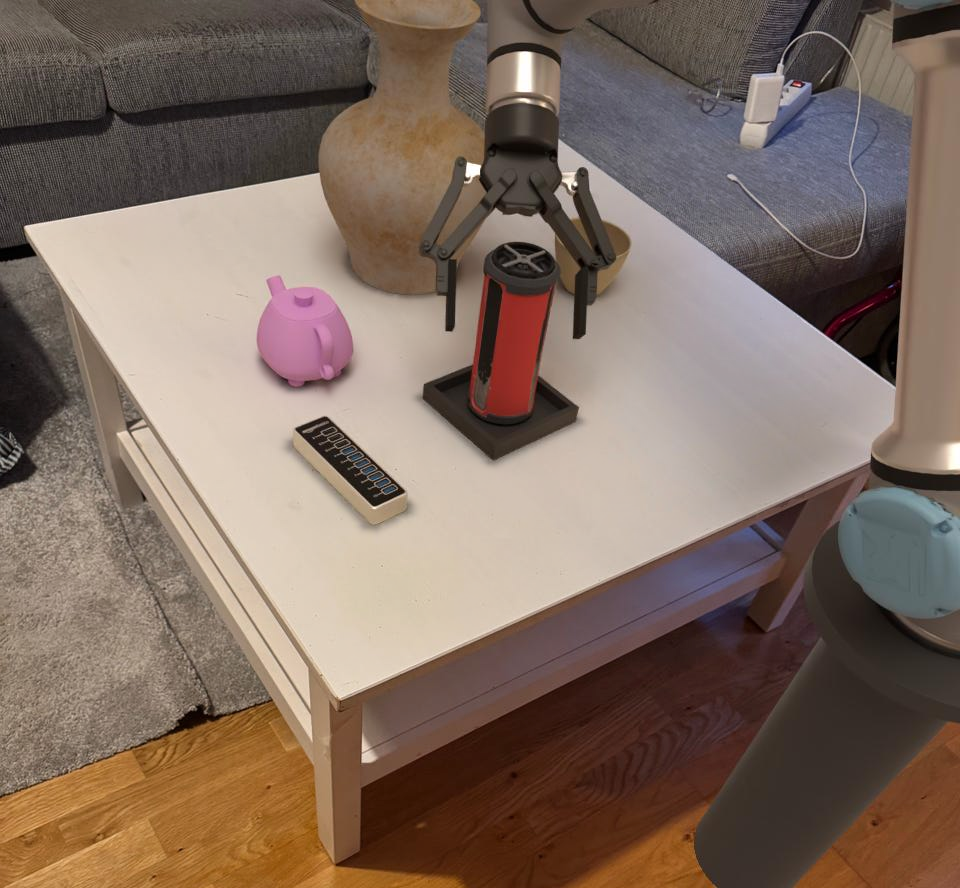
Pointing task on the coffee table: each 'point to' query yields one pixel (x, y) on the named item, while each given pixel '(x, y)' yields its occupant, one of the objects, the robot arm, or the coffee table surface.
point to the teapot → (303, 334)
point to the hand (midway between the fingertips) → (515, 333)
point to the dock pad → (492, 437)
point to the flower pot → (619, 244)
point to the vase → (403, 146)
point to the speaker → (511, 331)
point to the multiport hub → (350, 470)
